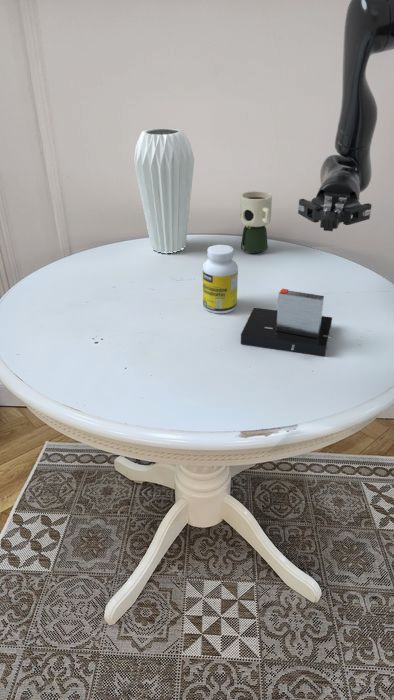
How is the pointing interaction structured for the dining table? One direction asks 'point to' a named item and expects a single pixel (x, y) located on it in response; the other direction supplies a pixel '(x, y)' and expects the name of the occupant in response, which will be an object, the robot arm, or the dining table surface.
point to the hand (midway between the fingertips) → (328, 225)
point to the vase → (165, 185)
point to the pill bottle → (220, 280)
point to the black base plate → (283, 334)
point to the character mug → (255, 220)
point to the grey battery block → (299, 313)
